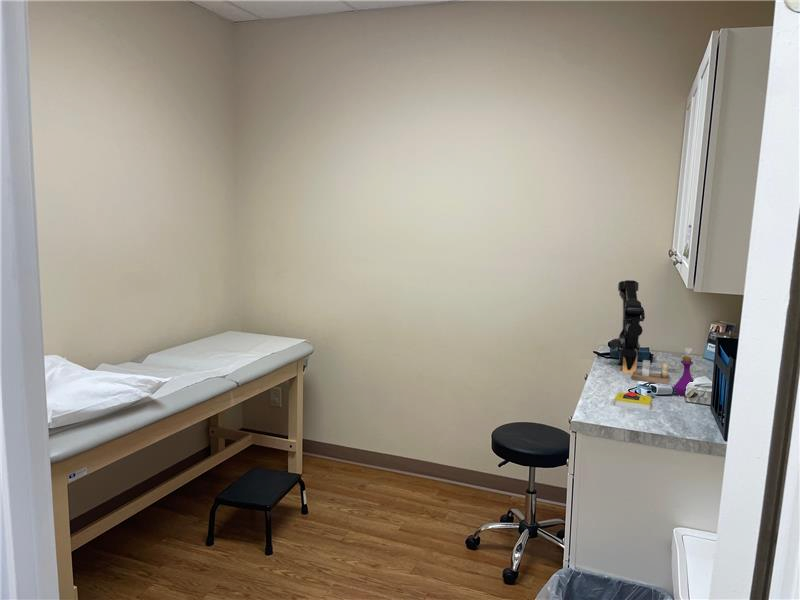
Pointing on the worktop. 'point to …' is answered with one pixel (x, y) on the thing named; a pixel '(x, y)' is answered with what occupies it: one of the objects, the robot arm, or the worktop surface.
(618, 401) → the emergency button
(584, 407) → the worktop surface
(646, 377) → the wooden holder
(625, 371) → the kraft paper carton
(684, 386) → the perfume bottle
